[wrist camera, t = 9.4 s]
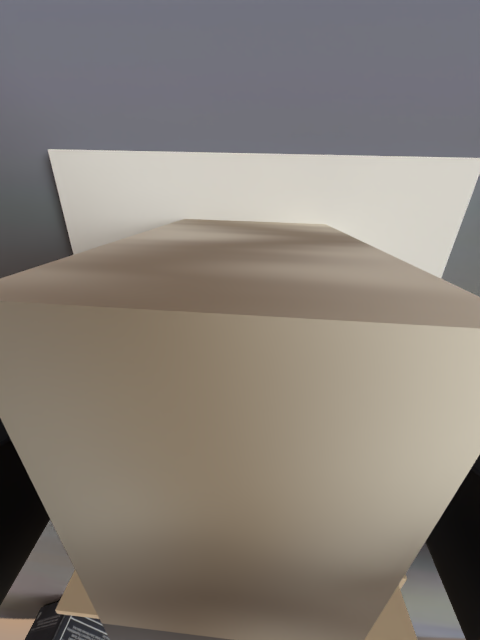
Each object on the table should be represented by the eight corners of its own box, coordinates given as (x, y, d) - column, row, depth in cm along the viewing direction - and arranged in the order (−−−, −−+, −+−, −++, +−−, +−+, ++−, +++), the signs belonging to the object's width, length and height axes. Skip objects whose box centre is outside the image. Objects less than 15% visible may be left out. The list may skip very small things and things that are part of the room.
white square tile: (473, 159, 9) (485, 158, 8) (369, 454, 15) (373, 462, 14) (57, 151, 9) (47, 149, 9) (123, 434, 15) (119, 441, 15)
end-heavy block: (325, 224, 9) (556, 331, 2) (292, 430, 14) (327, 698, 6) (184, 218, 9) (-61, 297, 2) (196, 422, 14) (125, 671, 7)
